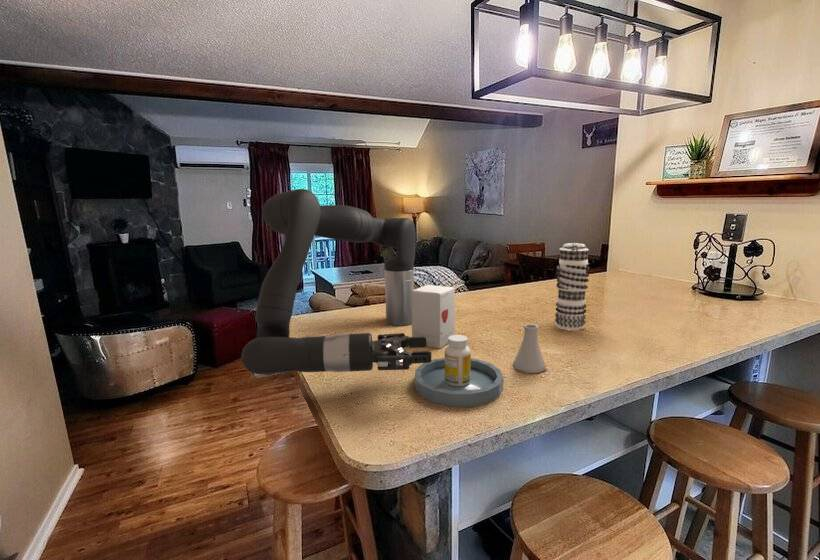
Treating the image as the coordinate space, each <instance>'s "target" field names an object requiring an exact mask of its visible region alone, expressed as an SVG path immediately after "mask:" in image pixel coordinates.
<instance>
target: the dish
mask: <svg viewBox="0 0 820 560" xmlns="http://www.w3.org/2000/svg"><path fill="white" fill-rule="evenodd" d="M414 389H415V391H416V392H417V393H418V395H419V396H420V397H421V398H423V399H425V400H427V401H429V402H432V404H437V405H442V406H447V407H451V408H452V407H453V408H454V407H455V408H462V407H463V408H471V407H472V408H473V407H477V406H482V405H487V404H489V403H491V402H492V401H494V400H496V399H498V398H499V397H500V396H501V394H502V392H503V390H504V375H503V373H502V371H501V369H500V368H498V367H496V366H495V365H494V364H492V363H490V362H489V361H488V362H487V361H485V360H483V359H482V360H481V359H478V358H471V364H470V382H469V384H467V385H465V386H461V387H455V386H450V385H448V384H447V383H446V382H445V357H442V358H441V357H440V358H439V357H438V358H433V359H431V362H430V363H420V365H419V366H418V367H417V368H415V370H414Z"/></svg>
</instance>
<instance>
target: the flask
mask: <svg viewBox="0 0 820 560" xmlns="http://www.w3.org/2000/svg"><path fill="white" fill-rule="evenodd" d="M522 326H523V328H524V332H523V333H524V334H523V339H522V342H521V344H520V347H519V348H518V351H517V353H516V356H515V357H514V360H513V362H512V365H513V367H514V369H515V370H518V371H520V372H523V373H524V374H539V373H542V372H545V371H547V365H546V363H545V361H544V357H543V355H542V351H541V349H540V348H541V347H540V344H539V341H538V330H539V328H540V327H539V326H538V325H537V324H534V323H526V324H523V325H522Z"/></svg>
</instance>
